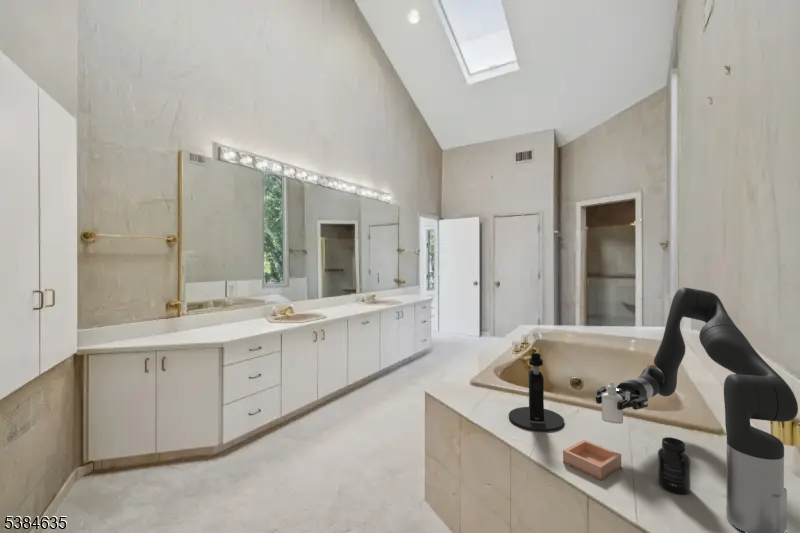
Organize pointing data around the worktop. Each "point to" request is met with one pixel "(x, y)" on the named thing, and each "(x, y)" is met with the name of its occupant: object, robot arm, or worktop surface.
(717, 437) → the worktop surface
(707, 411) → the worktop surface
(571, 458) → the tray
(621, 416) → the eye dropper bottle
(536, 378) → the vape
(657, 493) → the worktop surface
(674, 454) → the supplement bottle
